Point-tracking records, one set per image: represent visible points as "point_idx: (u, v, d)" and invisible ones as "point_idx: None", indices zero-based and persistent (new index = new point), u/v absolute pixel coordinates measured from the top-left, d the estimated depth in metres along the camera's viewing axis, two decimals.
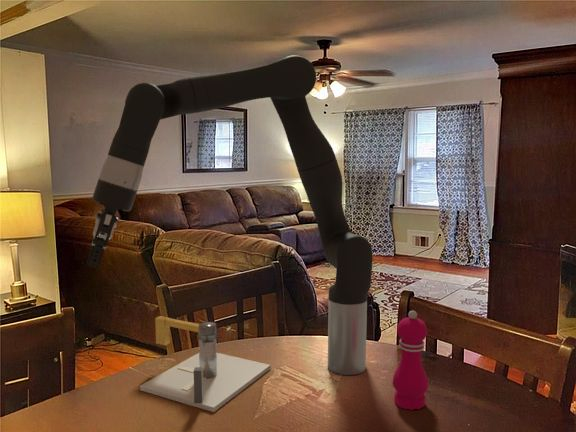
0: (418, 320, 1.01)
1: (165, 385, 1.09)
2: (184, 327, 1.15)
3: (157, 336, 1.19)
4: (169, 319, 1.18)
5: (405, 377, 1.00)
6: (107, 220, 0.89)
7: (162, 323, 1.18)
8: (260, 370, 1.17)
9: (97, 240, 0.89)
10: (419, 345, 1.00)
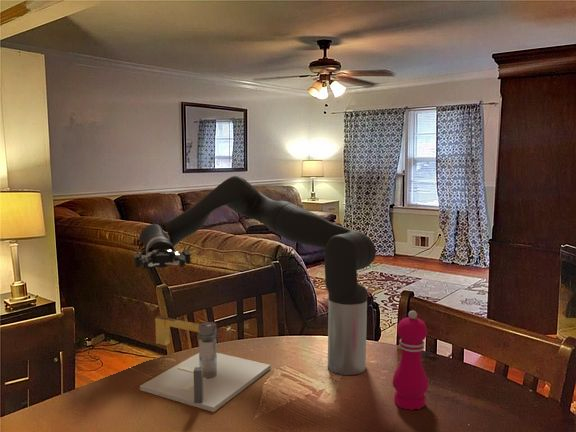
0: (418, 320, 1.01)
1: (165, 385, 1.09)
2: (184, 327, 1.15)
3: (157, 336, 1.19)
4: (169, 319, 1.18)
5: (405, 377, 1.00)
6: None
7: (162, 323, 1.18)
8: (260, 370, 1.17)
9: (135, 263, 1.26)
10: (419, 345, 1.00)
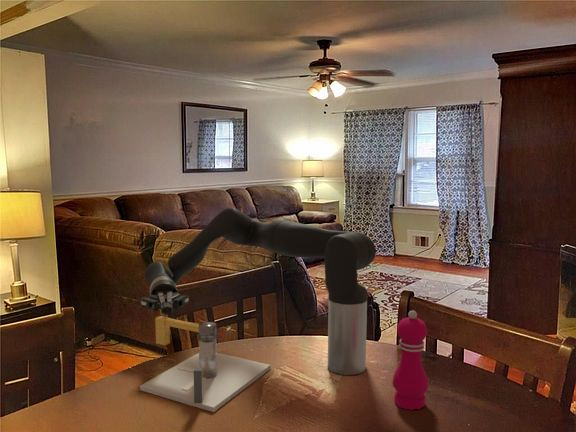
0: (418, 320, 1.01)
1: (165, 385, 1.09)
2: (184, 327, 1.15)
3: (157, 336, 1.19)
4: (169, 319, 1.18)
5: (405, 377, 1.00)
6: (143, 303, 1.30)
7: (162, 323, 1.18)
8: (260, 370, 1.17)
9: None
10: (419, 345, 1.00)
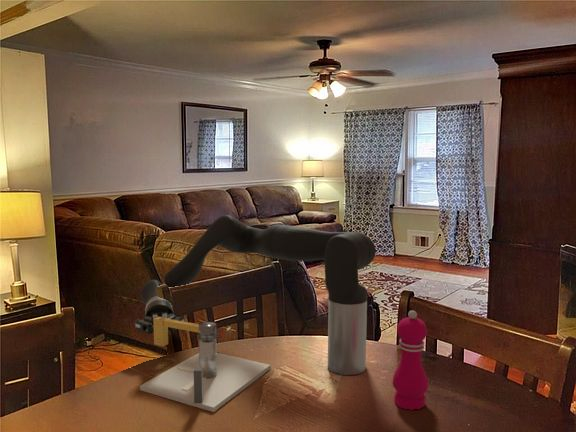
0: (418, 320, 1.01)
1: (165, 385, 1.09)
2: (183, 327, 1.15)
3: (155, 337, 1.19)
4: (167, 320, 1.17)
5: (405, 377, 1.00)
6: (137, 325, 1.27)
7: (160, 324, 1.17)
8: (260, 370, 1.17)
9: None
10: (419, 345, 1.00)
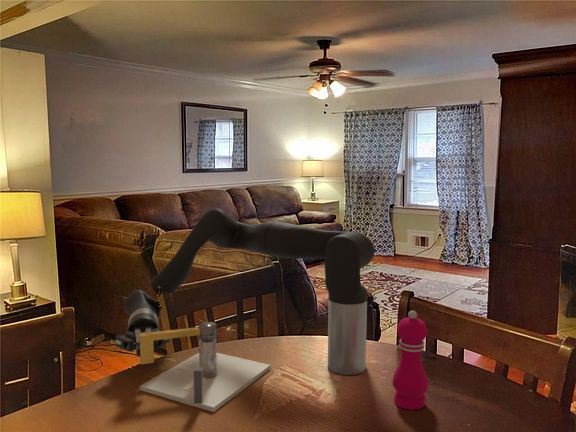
0: (418, 320, 1.01)
1: (165, 385, 1.09)
2: (180, 335, 1.10)
3: (143, 355, 1.08)
4: (157, 332, 1.09)
5: (405, 377, 1.00)
6: (117, 342, 1.15)
7: (150, 339, 1.08)
8: (260, 370, 1.17)
9: (128, 347, 1.14)
10: (419, 345, 1.00)
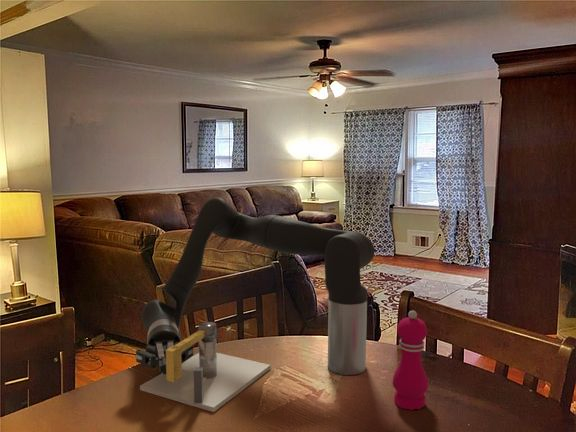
0: (418, 320, 1.01)
1: (165, 385, 1.09)
2: (195, 340, 1.07)
3: (175, 372, 1.00)
4: (180, 344, 1.02)
5: (405, 377, 1.00)
6: (138, 357, 1.07)
7: (179, 352, 1.01)
8: (260, 370, 1.17)
9: None
10: (419, 345, 1.00)
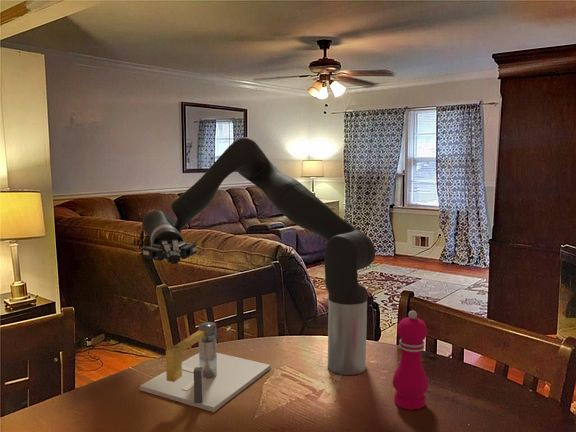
0: (418, 320, 1.01)
1: (165, 385, 1.09)
2: (195, 340, 1.07)
3: (175, 372, 1.00)
4: (180, 344, 1.02)
5: (405, 377, 1.00)
6: (145, 252, 1.14)
7: (179, 352, 1.01)
8: (260, 370, 1.17)
9: (157, 257, 1.12)
10: (419, 345, 1.00)
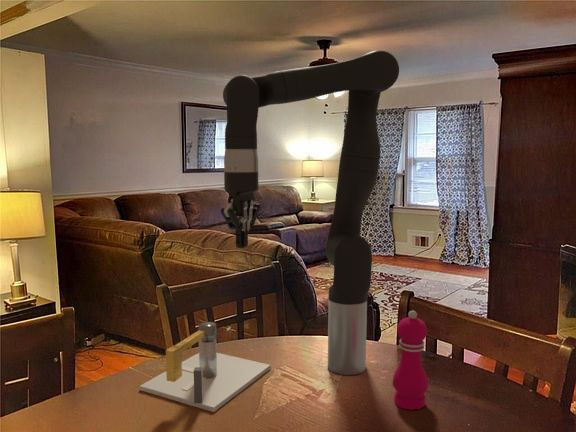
0: (418, 320, 1.01)
1: (165, 385, 1.09)
2: (195, 340, 1.07)
3: (175, 372, 1.00)
4: (180, 344, 1.02)
5: (405, 377, 1.00)
6: (226, 215, 1.05)
7: (179, 352, 1.01)
8: (260, 370, 1.17)
9: (231, 225, 1.08)
10: (419, 345, 1.00)
